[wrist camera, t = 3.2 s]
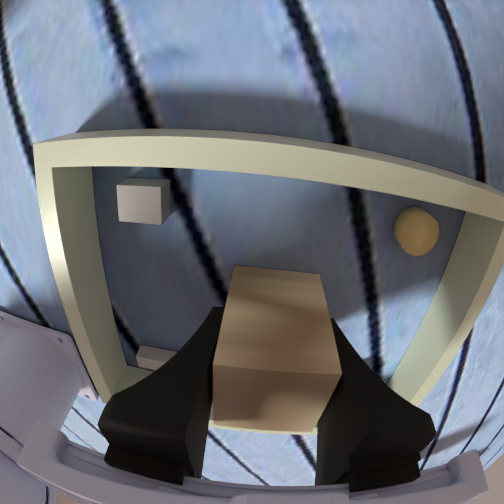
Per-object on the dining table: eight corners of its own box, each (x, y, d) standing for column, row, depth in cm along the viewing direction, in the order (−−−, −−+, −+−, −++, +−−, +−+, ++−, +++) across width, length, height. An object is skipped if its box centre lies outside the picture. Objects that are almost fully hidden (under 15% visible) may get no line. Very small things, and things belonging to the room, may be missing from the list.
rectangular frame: (117, 371, 18) (102, 402, 16) (74, 132, 11) (33, 143, 8) (389, 396, 18) (398, 428, 16) (486, 184, 11) (523, 204, 8)
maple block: (230, 328, 16) (213, 424, 10) (234, 265, 14) (213, 363, 8) (303, 335, 16) (311, 431, 10) (319, 273, 14) (342, 373, 8)
